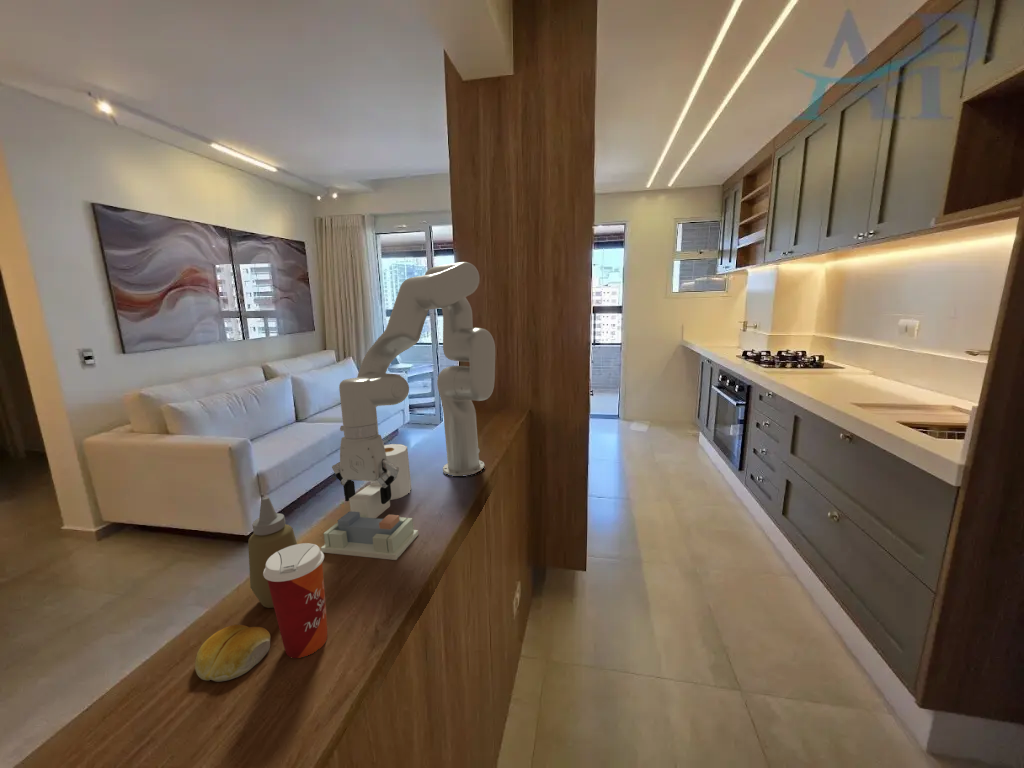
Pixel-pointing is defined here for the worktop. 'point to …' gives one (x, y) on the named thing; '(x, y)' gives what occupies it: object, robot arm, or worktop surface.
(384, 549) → the jig
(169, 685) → the worktop surface
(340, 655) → the worktop surface
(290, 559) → the paper cup
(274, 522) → the squeeze bottle
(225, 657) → the bread roll
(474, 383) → the robot arm
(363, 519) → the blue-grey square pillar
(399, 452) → the toilet paper
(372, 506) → the block
